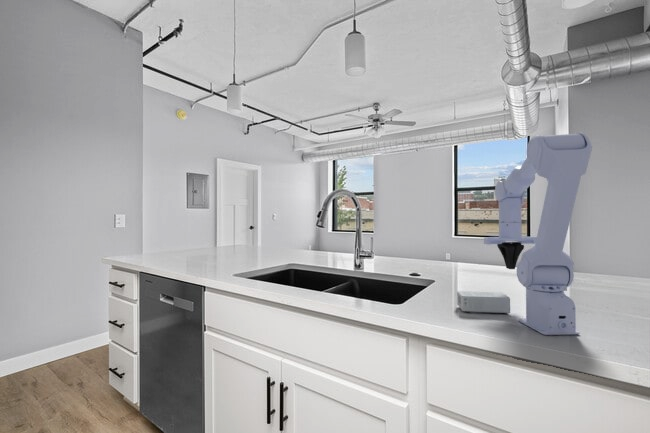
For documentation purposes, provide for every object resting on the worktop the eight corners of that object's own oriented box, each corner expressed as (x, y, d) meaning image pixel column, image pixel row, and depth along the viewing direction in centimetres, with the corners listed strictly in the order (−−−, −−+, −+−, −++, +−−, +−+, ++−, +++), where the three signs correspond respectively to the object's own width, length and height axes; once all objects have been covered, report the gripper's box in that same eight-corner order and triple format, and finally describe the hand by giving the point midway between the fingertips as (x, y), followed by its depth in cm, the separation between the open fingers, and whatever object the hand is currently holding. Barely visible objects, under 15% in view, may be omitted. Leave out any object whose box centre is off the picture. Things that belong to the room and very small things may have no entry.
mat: (509, 312, 83) (509, 311, 83) (470, 313, 83) (470, 311, 83) (494, 304, 90) (494, 303, 90) (458, 305, 90) (458, 304, 90)
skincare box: (462, 311, 84) (510, 313, 81) (461, 295, 84) (510, 297, 81) (456, 305, 90) (502, 306, 87) (456, 290, 90) (502, 291, 87)
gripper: (525, 221, 95) (526, 266, 95) (478, 222, 95) (479, 266, 95) (542, 222, 88) (542, 270, 88) (490, 222, 88) (491, 270, 88)
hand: (510, 268), depth 91 cm, fingers closed
